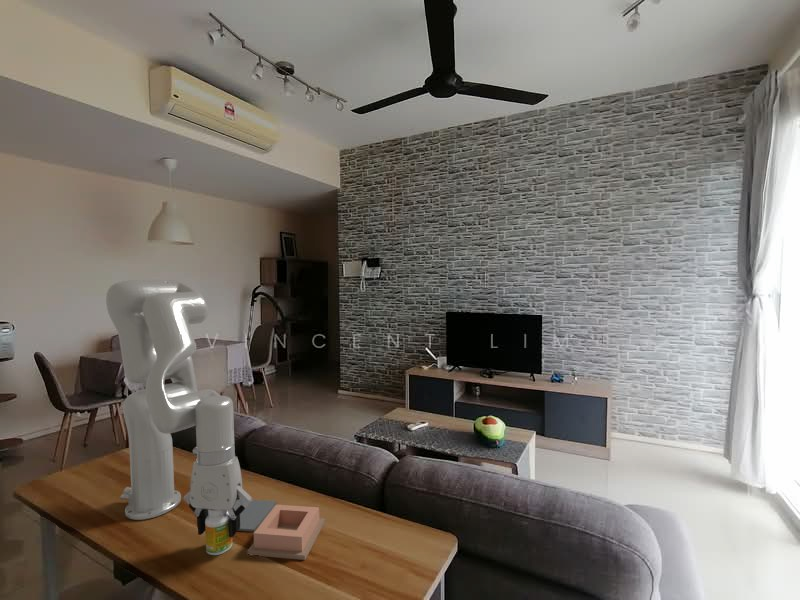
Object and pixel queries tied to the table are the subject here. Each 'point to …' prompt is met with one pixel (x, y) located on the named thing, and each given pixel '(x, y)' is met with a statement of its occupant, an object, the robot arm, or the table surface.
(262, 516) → the rubber mat
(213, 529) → the supplement bottle
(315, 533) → the collar block
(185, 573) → the table surface
